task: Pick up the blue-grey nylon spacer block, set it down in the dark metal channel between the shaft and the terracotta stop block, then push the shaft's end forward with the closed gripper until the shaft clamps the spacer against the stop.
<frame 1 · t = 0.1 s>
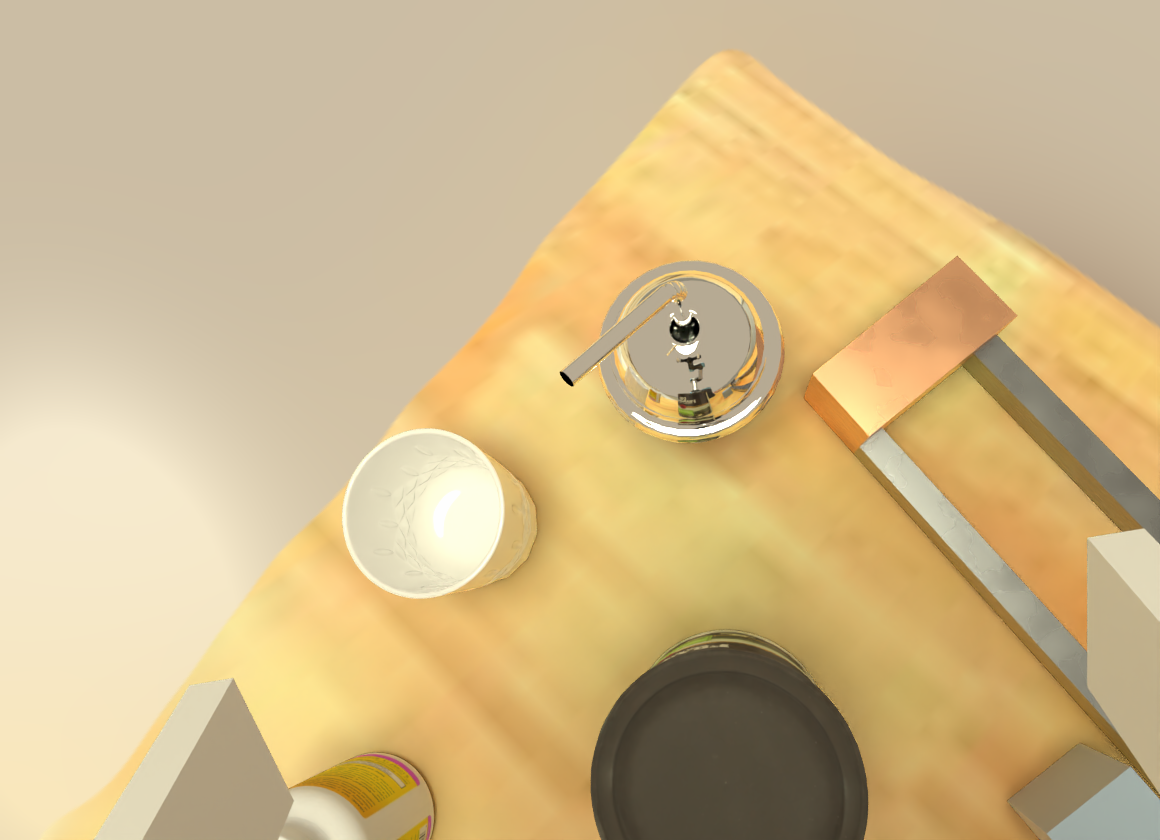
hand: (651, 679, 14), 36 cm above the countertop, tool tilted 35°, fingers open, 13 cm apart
supplement bottle: (381, 812, 50), on the countertop
channel: (1129, 625, 45), on the countertop
white cup: (481, 525, 52), on the countertop
coffee can: (729, 729, 48), on the countertop
cup with straw: (693, 396, 51), on the countertop
spacer: (1077, 811, 44), on the countertop
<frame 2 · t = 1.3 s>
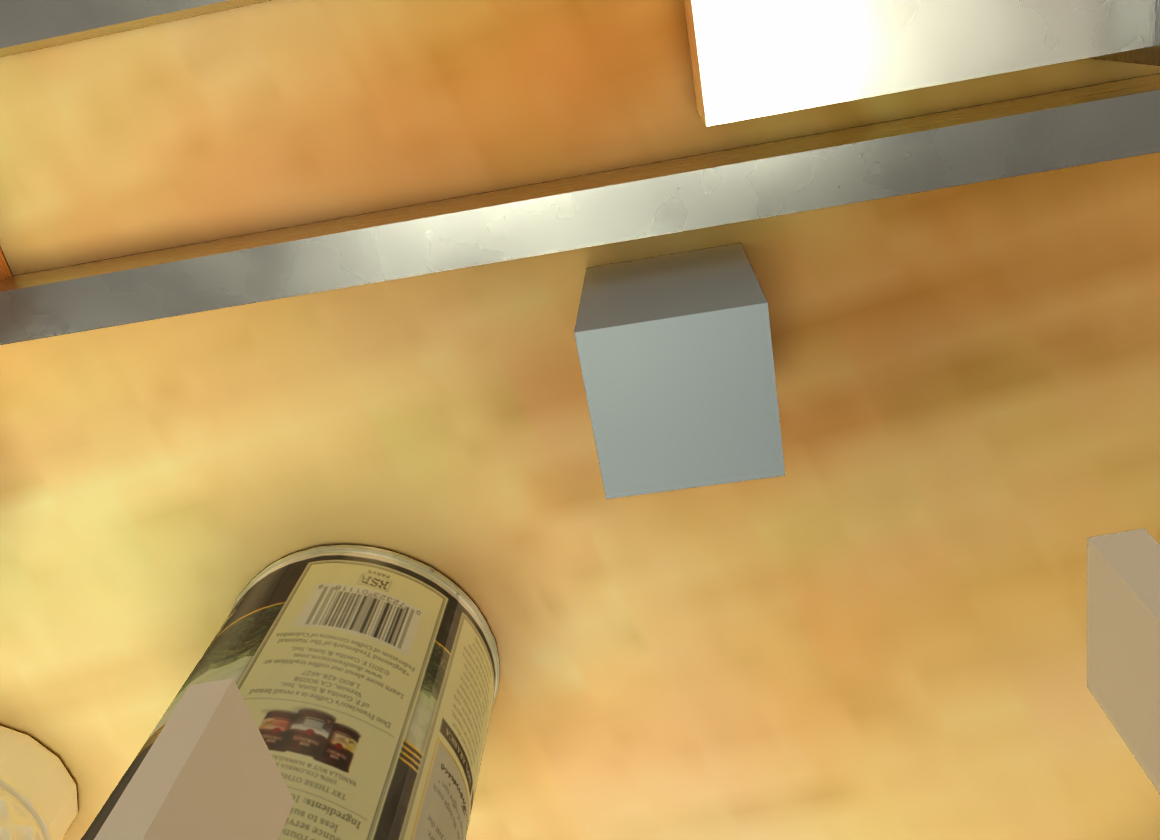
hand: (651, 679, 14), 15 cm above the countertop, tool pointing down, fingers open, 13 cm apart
channel: (454, 85, 25), on the countertop
white cup: (3, 778, 38), on the countertop
coffee can: (367, 656, 34), on the countertop
spacer: (673, 328, 28), on the countertop
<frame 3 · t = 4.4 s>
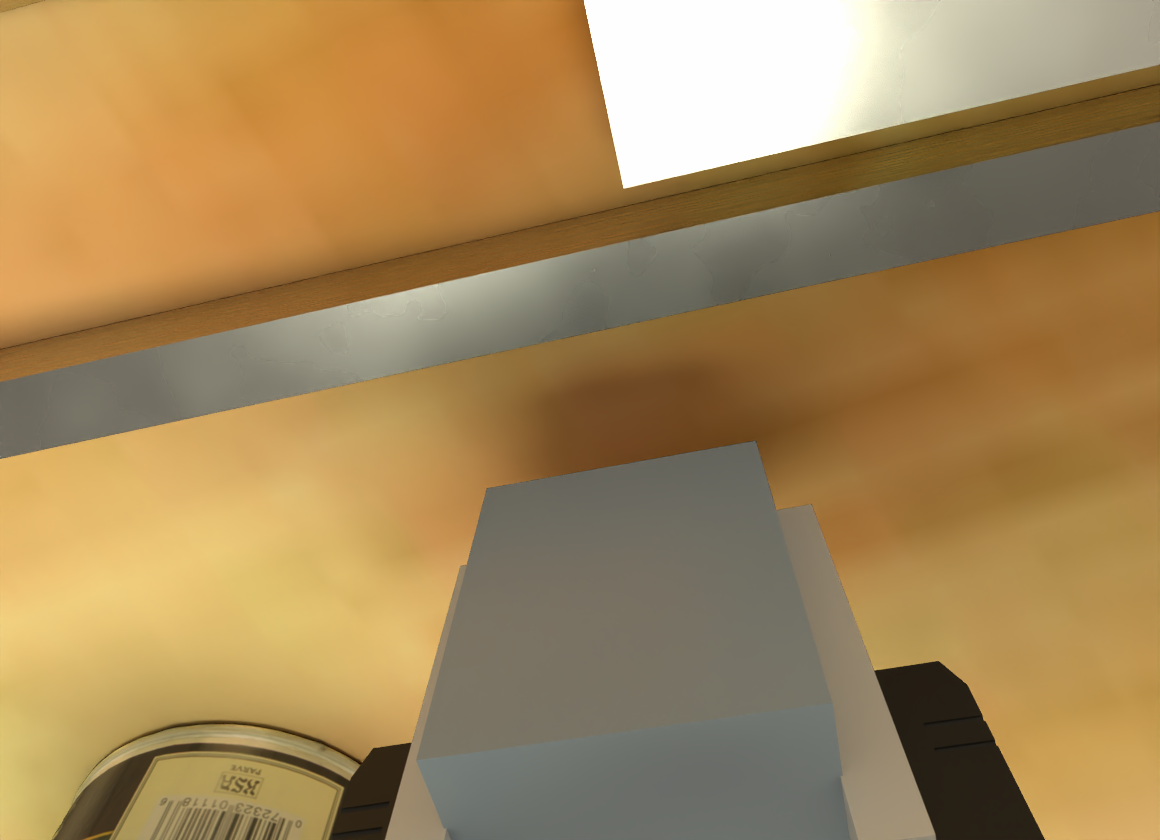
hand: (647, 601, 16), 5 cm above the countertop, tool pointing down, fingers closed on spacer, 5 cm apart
channel: (265, 128, 17), on the countertop
spacer: (644, 575, 16), point 5 cm above the countertop, touching gripper
when the fingers open (0 cm above the countertop, at t = 8.3 s): spacer stays where it is, resting in channel.
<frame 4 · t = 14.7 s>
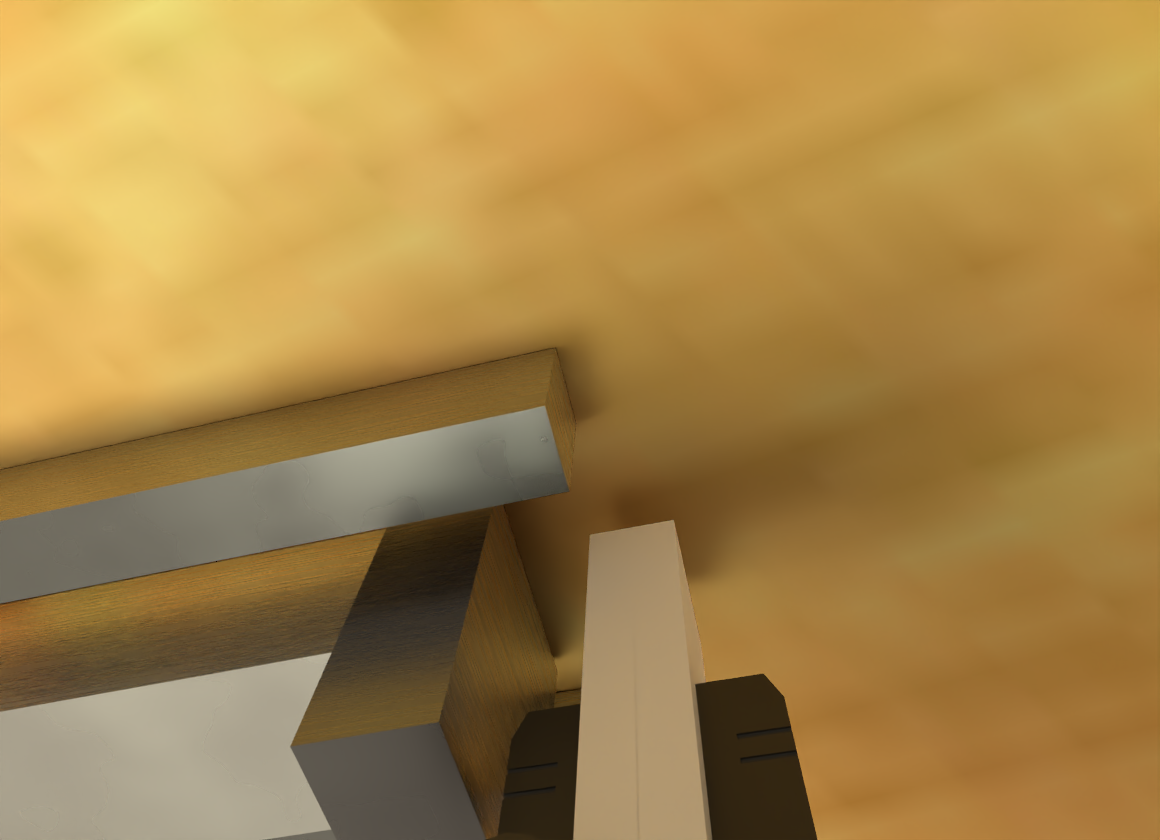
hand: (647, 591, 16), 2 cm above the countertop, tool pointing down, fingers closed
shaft: (180, 746, 16), point 3 cm above the countertop, slide at 1.2 cm, touching gripper
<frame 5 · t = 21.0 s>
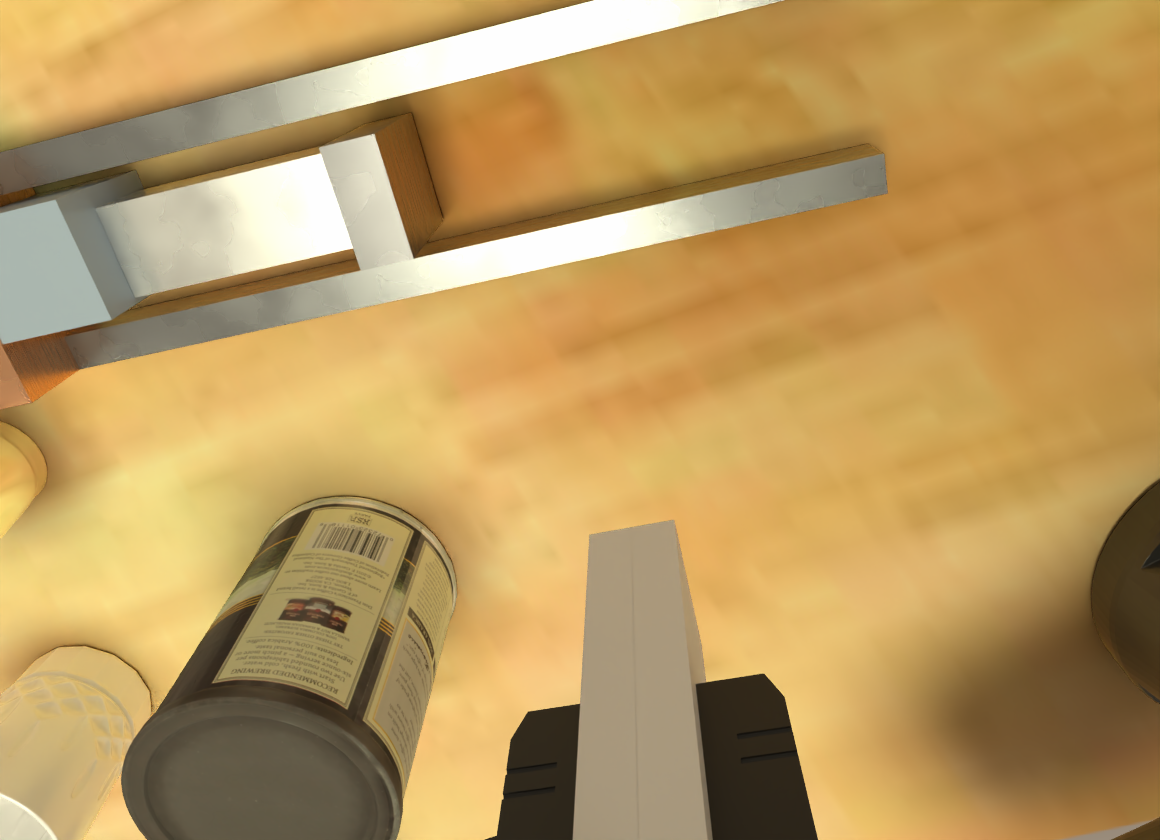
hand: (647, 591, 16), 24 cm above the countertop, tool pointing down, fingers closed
channel: (391, 175, 37), on the countertop
white cup: (94, 690, 50), on the countertop
coffee can: (360, 580, 46), on the countertop
cup with straw: (3, 464, 44), on the countertop
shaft: (264, 216, 35), point 3 cm above the countertop, slide at 16.9 cm
spacer: (110, 235, 39), resting in channel
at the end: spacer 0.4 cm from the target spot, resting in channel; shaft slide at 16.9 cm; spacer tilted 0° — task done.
